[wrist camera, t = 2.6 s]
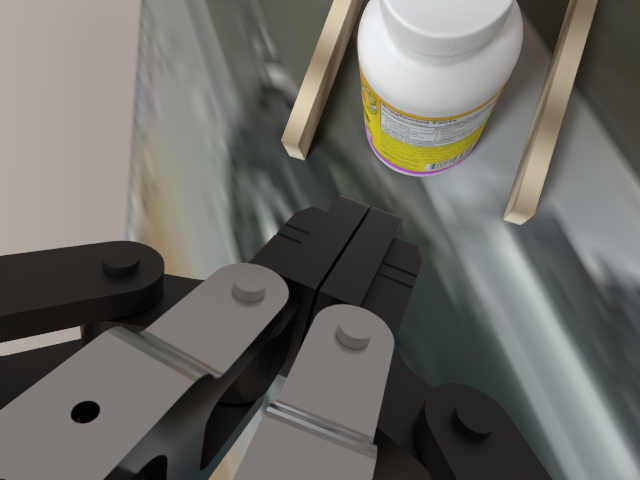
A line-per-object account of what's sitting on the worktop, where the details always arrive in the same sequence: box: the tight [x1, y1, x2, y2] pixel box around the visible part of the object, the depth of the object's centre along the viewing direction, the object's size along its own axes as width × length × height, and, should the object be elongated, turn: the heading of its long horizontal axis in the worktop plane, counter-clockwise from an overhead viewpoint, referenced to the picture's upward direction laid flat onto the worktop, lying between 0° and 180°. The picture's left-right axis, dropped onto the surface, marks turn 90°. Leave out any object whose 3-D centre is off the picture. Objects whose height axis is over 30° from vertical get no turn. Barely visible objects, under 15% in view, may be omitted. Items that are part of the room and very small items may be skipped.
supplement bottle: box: [358, 0, 523, 177], centre depth 22 cm, size 7×7×13 cm
